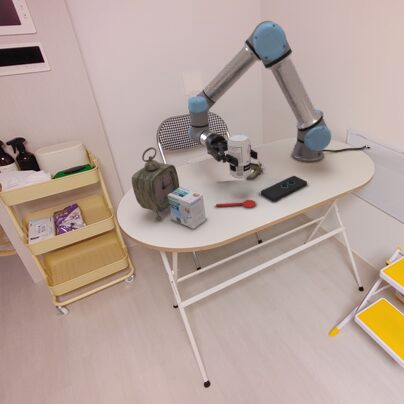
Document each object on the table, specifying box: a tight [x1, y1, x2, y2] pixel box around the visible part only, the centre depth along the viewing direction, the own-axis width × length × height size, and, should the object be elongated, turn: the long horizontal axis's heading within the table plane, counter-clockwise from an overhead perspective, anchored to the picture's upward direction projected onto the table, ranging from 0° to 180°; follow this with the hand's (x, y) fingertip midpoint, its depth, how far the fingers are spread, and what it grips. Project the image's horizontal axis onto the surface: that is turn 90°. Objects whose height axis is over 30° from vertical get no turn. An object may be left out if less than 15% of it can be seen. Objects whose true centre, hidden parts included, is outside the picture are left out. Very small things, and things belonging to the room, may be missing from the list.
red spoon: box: [215, 199, 256, 209], centre depth 116 cm, size 15×5×1 cm, turn 96°
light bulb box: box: [168, 186, 207, 230], centre depth 106 cm, size 11×7×11 cm, turn 58°
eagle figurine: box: [246, 161, 267, 181], centre depth 135 cm, size 8×7×9 cm
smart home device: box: [260, 175, 308, 203], centre depth 125 cm, size 8×2×20 cm
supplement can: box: [227, 133, 252, 180], centre depth 113 cm, size 8×8×15 cm
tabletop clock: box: [131, 146, 180, 221], centre depth 107 cm, size 14×9×25 cm, turn 160°
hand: (247, 159), depth 110 cm, fingers closed on supplement can, 8 cm apart
